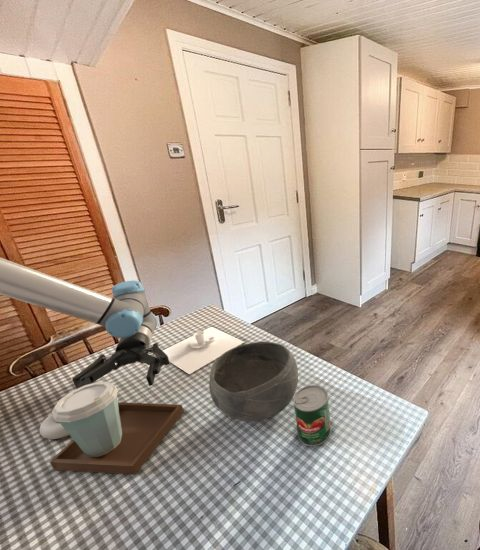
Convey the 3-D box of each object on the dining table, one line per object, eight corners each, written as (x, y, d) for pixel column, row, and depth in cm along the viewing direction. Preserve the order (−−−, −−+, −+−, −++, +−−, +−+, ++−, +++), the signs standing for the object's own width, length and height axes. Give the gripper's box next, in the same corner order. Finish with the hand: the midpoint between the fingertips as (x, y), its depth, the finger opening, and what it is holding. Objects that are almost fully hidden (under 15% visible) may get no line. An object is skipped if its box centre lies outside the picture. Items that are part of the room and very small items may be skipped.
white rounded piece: (220, 341, 109) (218, 331, 107) (199, 352, 103) (196, 342, 101) (206, 334, 113) (203, 324, 112) (184, 344, 107) (182, 335, 106)
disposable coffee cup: (63, 457, 67) (35, 406, 61) (114, 420, 76) (94, 372, 71) (96, 472, 64) (69, 420, 58) (145, 431, 73) (126, 382, 68)
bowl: (220, 390, 86) (209, 346, 81) (295, 372, 93) (290, 331, 88) (214, 454, 68) (200, 403, 63) (307, 425, 75) (302, 377, 69)
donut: (100, 422, 77) (91, 403, 83) (96, 412, 75) (86, 393, 81) (46, 450, 70) (39, 427, 75) (39, 440, 68) (34, 416, 74)
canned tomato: (326, 414, 78) (323, 381, 74) (334, 439, 71) (332, 404, 67) (295, 424, 75) (291, 390, 71) (301, 451, 69) (296, 415, 64)
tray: (53, 470, 65) (48, 461, 64) (116, 409, 80) (113, 401, 79) (135, 474, 64) (132, 466, 63) (184, 412, 79) (181, 404, 78)
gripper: (185, 343, 96) (179, 386, 79) (86, 365, 87) (53, 420, 69) (179, 322, 94) (172, 362, 76) (76, 343, 84) (39, 395, 66)
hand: (115, 390), depth 72 cm, fingers open, 13 cm apart
